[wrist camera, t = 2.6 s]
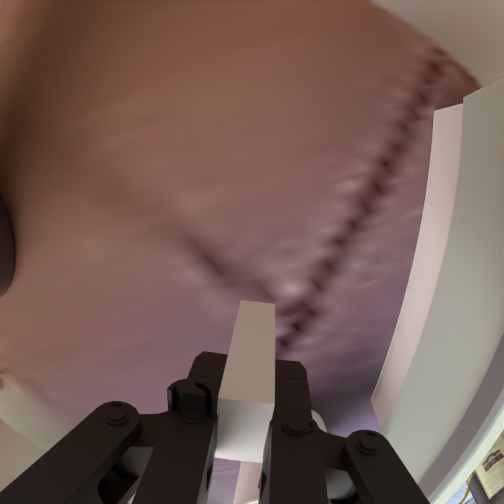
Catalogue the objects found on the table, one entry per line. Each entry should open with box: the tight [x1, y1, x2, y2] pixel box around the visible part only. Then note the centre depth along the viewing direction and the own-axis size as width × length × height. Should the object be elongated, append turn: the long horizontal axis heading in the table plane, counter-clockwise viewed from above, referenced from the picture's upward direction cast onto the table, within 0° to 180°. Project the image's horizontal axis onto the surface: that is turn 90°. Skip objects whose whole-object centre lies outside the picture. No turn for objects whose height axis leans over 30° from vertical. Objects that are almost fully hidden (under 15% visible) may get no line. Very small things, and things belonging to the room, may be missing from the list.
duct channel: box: [370, 103, 463, 430], centre depth 22 cm, size 12×28×6 cm, turn 174°
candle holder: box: [233, 409, 327, 504], centre depth 25 cm, size 10×10×12 cm
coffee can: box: [466, 429, 504, 504], centre depth 23 cm, size 10×10×14 cm
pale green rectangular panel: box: [380, 77, 504, 504], centre depth 14 cm, size 12×28×1 cm
